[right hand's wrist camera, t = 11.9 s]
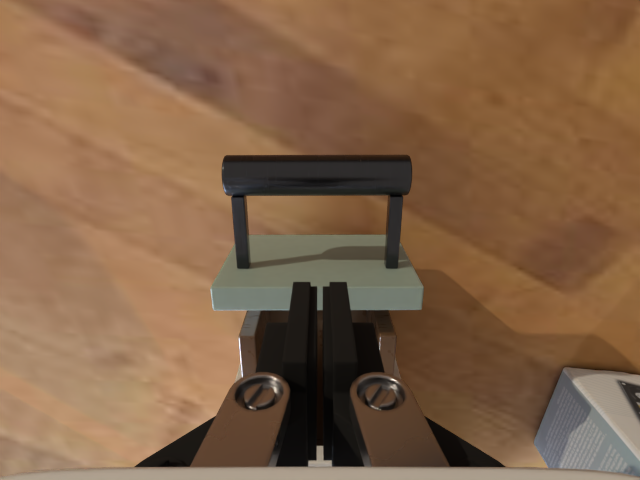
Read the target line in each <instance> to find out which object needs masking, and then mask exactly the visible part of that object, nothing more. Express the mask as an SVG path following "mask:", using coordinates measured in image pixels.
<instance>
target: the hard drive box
mask: <svg viewBox="0 0 640 480" xmlns="http://www.w3.org/2000/svg"><path fill="white" fill-rule="evenodd" d="M534 445H535V446H536V448H537V449H538V451H539V453H540V454H541V456H542V458H543V460H544V461H545V463H546V465H547V466H548V468H563V469H589V470H599V471H608V472H617V473H623V474H628V475H633V476H638V477H640V375H635V374H628V373H625V372H616V371H605V370H590V369H580V368H570V367H564V368H563V371H562V373H561V375H560V378H559V380H558V383H557V385H556V388H555V390H554V393H553V395H552V397H551V400H550V402H549V405H548V407H547V410H546V412H545V414H544V417H543V419H542V422H541V425H540V427H539V430H538V432H537V435H536V437H535V440H534Z"/></svg>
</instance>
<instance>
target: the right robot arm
mask: <svg viewBox="0 0 640 480" xmlns="http://www.w3.org/2000/svg"><path fill="white" fill-rule="evenodd" d="M308 461H317V286H311V282H293V287H292V294H291V302H290V309H289V316H288V322H268V323H267V324H266V328H265V332H264V337H263V341H262V345H261V350H260V354H259V358H258V363H257V367H256V372H255V373H253V374H249V375H246V376H244V377H242V378H240V379H239V380H238V381H236V382H235V383H234V384H233V385H232V387H231V388H230V390H229V392H228V394H227V395H226V397H225V399H224V401H223V403H222V405H221V407H220V409H219V411H218V413H217V415H216V416H215V417H213V418H212V419H210V420H208V421H207V422H205V423H203V424H202V425H200V426H199V427H197V428H195V429H194V430H192V431H190V432H189V433H187V434H186V435H184V436H182V437H181V438H179V439H177V440H176V441H174V442H173V443H171V444H169V445H168V446H166V447H164V448H163V449H161V450H159V451H158V452H156V453H155V454H153V455H151V456H150V457H148V458H146V459H145V460H143V461H142V462H140V463H139V464H138V465H136V466H135V467H103V468H77V469H51V470H41V471H32V472H23V473H17V474H12V475H7V476H2V477H0V480H640V477H638V476H633V475H628V474H623V473H617V472H608V471H599V470H589V469H563V468H537V467H505V466H504V465H502V464H501V463H500V462H498V461H497V460H495V459H494V458H492V457H490V456H489V455H487V454H485V453H484V452H482V451H481V450H479V449H477V448H476V447H474V446H472V445H471V444H469V443H467V442H466V441H464V440H463V439H461V438H459V437H458V436H456V435H454V434H453V433H451V432H450V431H448V430H446V429H445V428H443V427H441V426H440V425H438V424H437V423H435V422H433V421H432V420H430V419H428V418H427V417H425V416H424V415H423V413H422V411H421V409H420V407H419V405H418V403H417V401H416V399H415V397H414V395H413V394H412V392H411V390H410V388H409V387H408V385H407V384H406V383H405V382H404V381H402V380H401V379H400V378H398V377H396V376H394V375H391V374H387V373H385V372H384V367H383V363H382V358H381V354H380V350H379V345H378V341H377V337H376V332H375V328H374V324H373V323H372V322H352V316H351V309H350V302H349V294H348V287H347V282H329V286H323V461H332V467H308Z"/></svg>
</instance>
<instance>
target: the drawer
mask: <svg viewBox="0 0 640 480" xmlns="http://www.w3.org/2000/svg"><path fill="white" fill-rule="evenodd" d="M222 183H223V188H224V191H225V194H226V195H228V196H232V197H231V200H232V213H233V225H234V237H235V244H234V246H233V248H232V250H231V252H230V253H229V255H228V257H227V259H226V261H225V262H224V264H223V266H222V268H221V270H220V272H219V273H218V275H217V277H216V279H215V281H214V282H213V284H212V286H211V297H212V306H213V310H247V313H246V316H245V319H244V322H243V325H242V328H241V331H240V334H239V348H240V360H241V372H242V377H244V376H246V375H249V374H253V373H255V372H256V367H257V363H258V358H259V354H260V350H261V345H262V341H263V337H264V332H265V328H266V324H267V323H268V322H288V316H289V309H290V302H291V294H292V287H293V282H311V286H317V446H323V286H329V282H347V287H348V294H349V302H350V309H351V316H352V322H372V323H373V324H374V328H375V332H376V337H377V341H378V345H379V350H380V354H381V358H382V363H383V367H384V372H385V373H387V374H391V375H394V365H395V351H396V338H397V336H396V333H395V330H394V327H393V323H392V320H391V317H390V314H389V311H388V310H421V309H422V302H423V292H424V287H423V285H422V283H421V281H420V279H419V277H418V275H417V273H416V271H415V269H414V268H413V266H412V264H411V262H410V260H409V258H408V256H407V254H406V252H405V250H404V248H403V247H402V245H401V243H400V233H401V219H402V205H403V196H402V195H408V194H409V191H410V188H411V183H412V163H411V159H410V156H408V155H226V156H225V157H224V159H223V163H222ZM346 195H388V206H387V223H386V235H249V228H248V214H247V199H246V196H346Z"/></svg>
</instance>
